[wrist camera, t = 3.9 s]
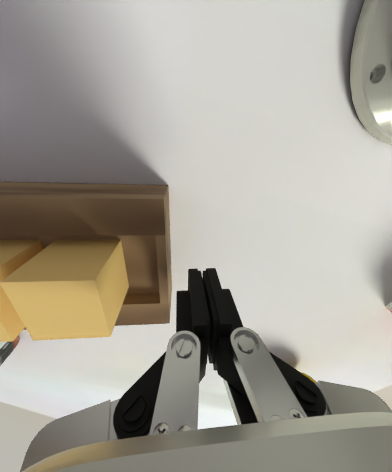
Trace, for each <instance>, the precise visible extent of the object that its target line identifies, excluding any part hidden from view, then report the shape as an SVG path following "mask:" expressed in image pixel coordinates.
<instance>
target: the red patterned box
mask: <svg viewBox="0 0 392 472" xmlns="http://www.w3.org/2000/svg"><path fill="white" fill-rule="evenodd" d="M385 307H386V308H387V309H388V310H390V311H391V312H392V302H391V303H389V304H388V305H386V306H385Z"/></svg>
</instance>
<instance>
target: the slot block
mask: <svg viewBox="0 0 392 472" xmlns="http://www.w3.org/2000/svg"><path fill="white" fill-rule="evenodd" d="M0 240H40V242H41V245H42V247H43V249H45V248H46V247H47V246H49V245H50V244H52V243H53V242H54V241H56V240H121V243H122V249H123V255H124V260H125V266H126V272H127V278H128V284H129V288H128V290H127V293H126V296H125V299H124V301H123V304H122V307H121V309H120V312H119V315H118V317H117V320H116V323H115V325H114V326H118V325H142V324H165V323H169V322H170V307H171V292H172V280H171V250H170V220H169V190H168V185H132V184H85V183H38V182H0ZM25 329H26V327H25V328H24V329H23V330H25Z"/></svg>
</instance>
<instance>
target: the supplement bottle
mask: <svg viewBox="0 0 392 472" xmlns="http://www.w3.org/2000/svg"><path fill="white" fill-rule="evenodd" d="M18 342H19V335H18V336H17V337H16V339H15V340H14V341H10V342H0V365H1V364H2V363H3V362H4V361H5V359H6V358H7V357H8V356H9V355H10V354H11V352H12V351H13V349H14V348H15V347H16V346H17V344H18Z"/></svg>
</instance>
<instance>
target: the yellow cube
mask: <svg viewBox="0 0 392 472" xmlns="http://www.w3.org/2000/svg"><path fill="white" fill-rule="evenodd" d="M0 284H1V286H2V288H3V290H4V291H5V293H6V295H7V296H8V298H9V300H10V302H11V303H12V305H13V307H14V308H15V310H16V312H17V314H18V315H19V317H20V319H21V320H22V322H23V324H24V326H25V327H26V329H27V331H28V332H29V334H30V336H31V338H32V339H33V340H52V339H73V338H94V337H110V336H111V333H112V331H113V328H114V325H115V323H116V320H117V317H118V315H119V312H120V309H121V307H122V304H123V301H124V299H125V296H126V293H127V290H128V288H129V284H128V278H127V272H126V266H125V260H124V255H123V249H122V243H121V240H56V241H54V242H53V243H52V244H50V245H49V246H47V247H46V248H45V249H43V250H42V251H41V252H39V253H38V254H37V255H35V256H34V257H33V258H31V259H30V260H29V261H27V262H26V263H25V264H23V265H22V266H21V267H19V268H18V269H17V270H15V271H14V272H13V273H11V274H10V275H9V276H7V277H6V278H5V279H3V280H2V281H1V282H0Z"/></svg>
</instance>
